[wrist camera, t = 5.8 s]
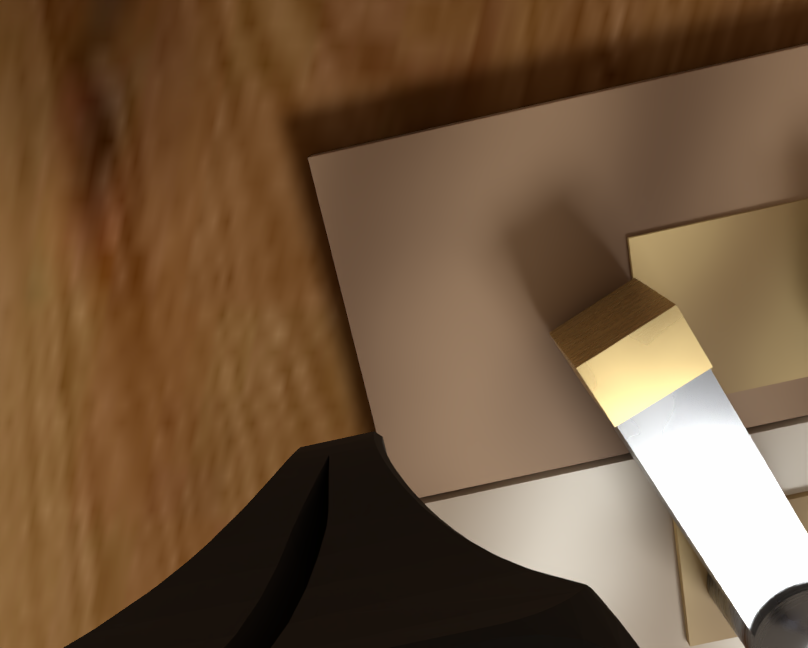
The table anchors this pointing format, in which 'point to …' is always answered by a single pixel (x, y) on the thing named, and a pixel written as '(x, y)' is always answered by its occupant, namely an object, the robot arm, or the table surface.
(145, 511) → the table surface
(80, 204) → the table surface
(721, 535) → the latch bar
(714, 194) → the door board
